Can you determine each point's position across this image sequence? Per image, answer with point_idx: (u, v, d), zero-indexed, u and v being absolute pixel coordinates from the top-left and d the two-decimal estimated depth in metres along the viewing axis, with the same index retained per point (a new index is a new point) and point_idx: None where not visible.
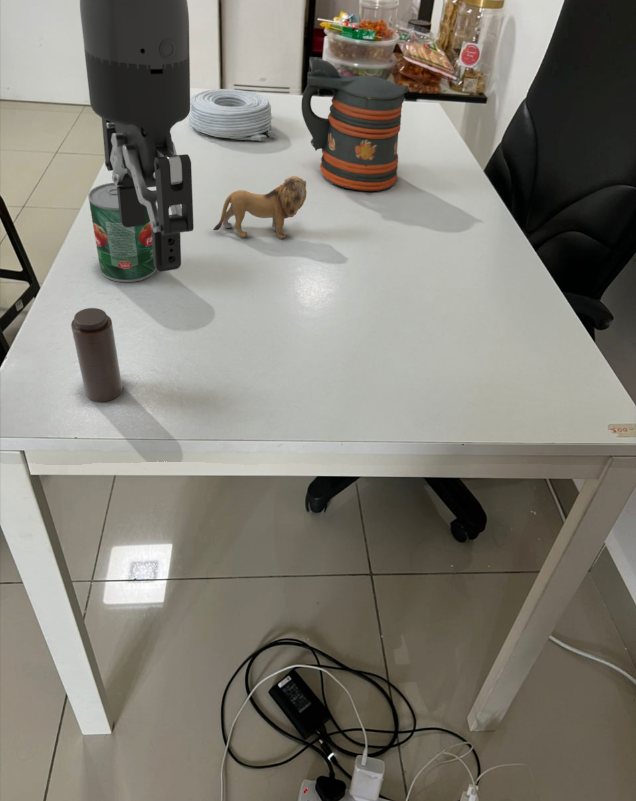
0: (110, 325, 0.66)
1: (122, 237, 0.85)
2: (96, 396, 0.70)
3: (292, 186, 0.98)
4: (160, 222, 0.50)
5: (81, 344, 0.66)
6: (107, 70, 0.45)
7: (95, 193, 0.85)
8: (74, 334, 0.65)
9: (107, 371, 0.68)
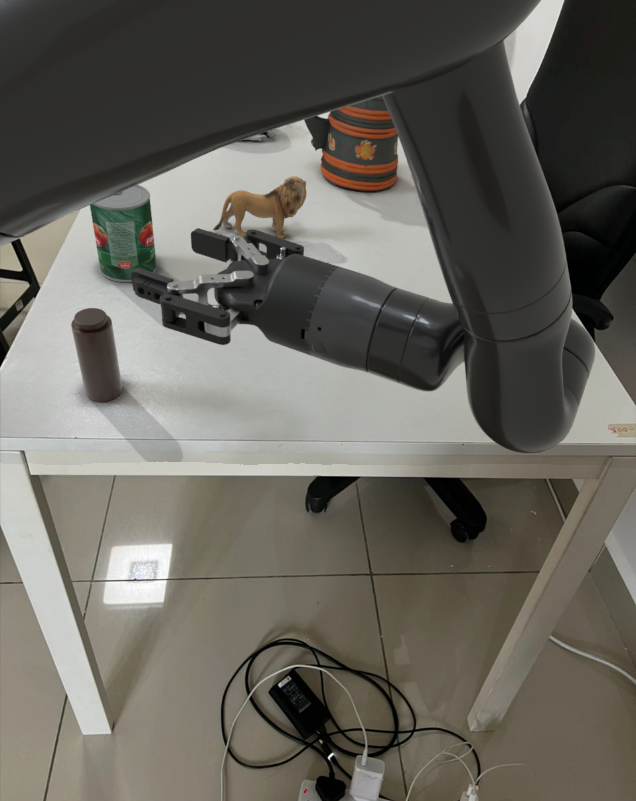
0: (110, 325, 0.66)
1: (122, 237, 0.85)
2: (96, 396, 0.70)
3: (292, 186, 0.98)
4: (172, 299, 0.50)
5: (81, 344, 0.66)
6: (311, 290, 0.49)
7: None
8: (74, 334, 0.65)
9: (107, 371, 0.68)
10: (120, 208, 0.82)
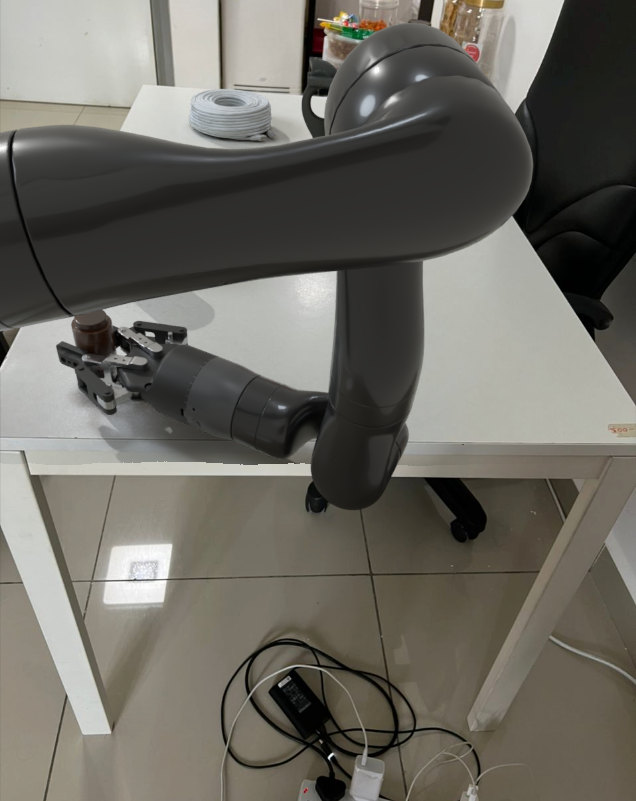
0: (110, 325, 0.66)
1: None
2: None
3: None
4: (83, 370, 0.64)
5: (81, 344, 0.66)
6: (187, 378, 0.61)
7: None
8: (74, 334, 0.65)
9: None
10: None
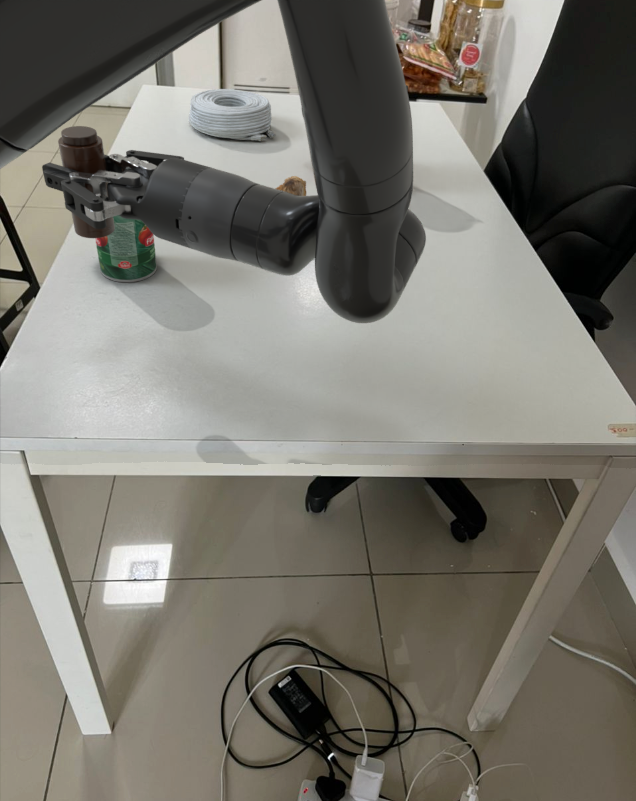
0: (100, 143, 0.61)
1: (122, 237, 0.85)
2: (86, 231, 0.65)
3: (292, 186, 0.98)
4: (70, 183, 0.58)
5: (69, 162, 0.61)
6: (183, 184, 0.56)
7: None
8: (62, 150, 0.60)
9: None
10: None
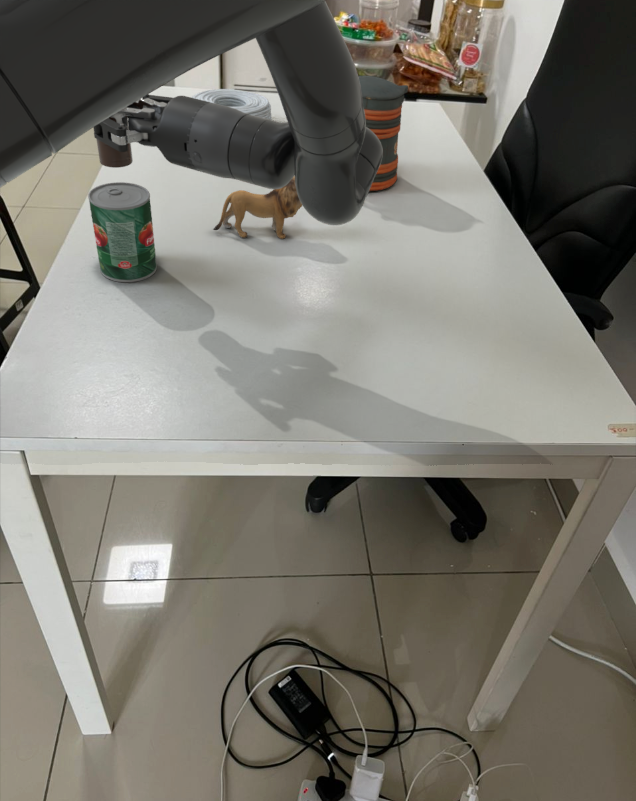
0: None
1: (122, 237, 0.85)
2: (109, 161, 0.79)
3: (292, 186, 0.98)
4: None
5: None
6: (190, 114, 0.70)
7: (95, 193, 0.85)
8: None
9: None
10: (120, 208, 0.82)
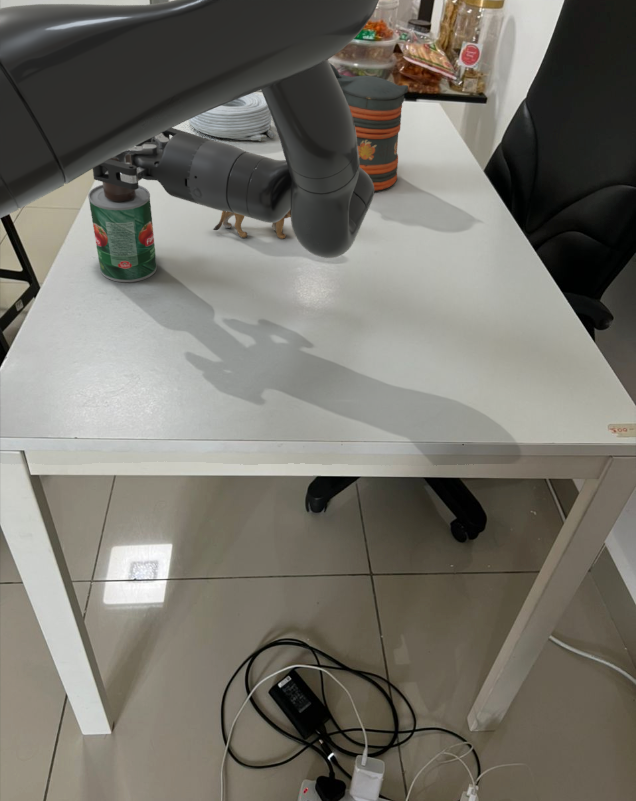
0: None
1: (122, 237, 0.85)
2: (114, 194, 0.83)
3: None
4: None
5: None
6: (190, 151, 0.73)
7: (95, 193, 0.85)
8: None
9: None
10: (120, 208, 0.82)
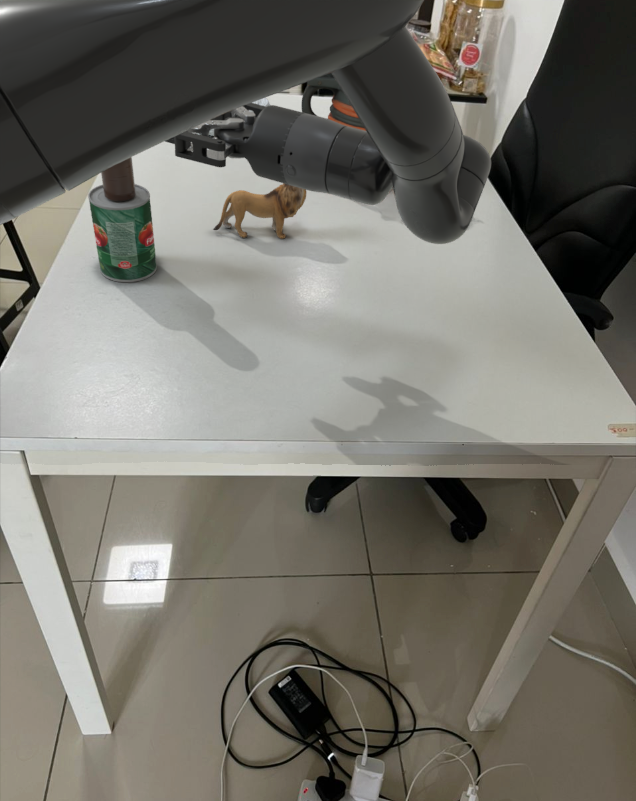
0: None
1: (122, 237, 0.85)
2: (114, 194, 0.83)
3: (292, 186, 0.98)
4: (183, 132, 0.67)
5: None
6: (285, 125, 0.66)
7: (95, 193, 0.85)
8: None
9: (123, 169, 0.81)
10: (120, 208, 0.82)
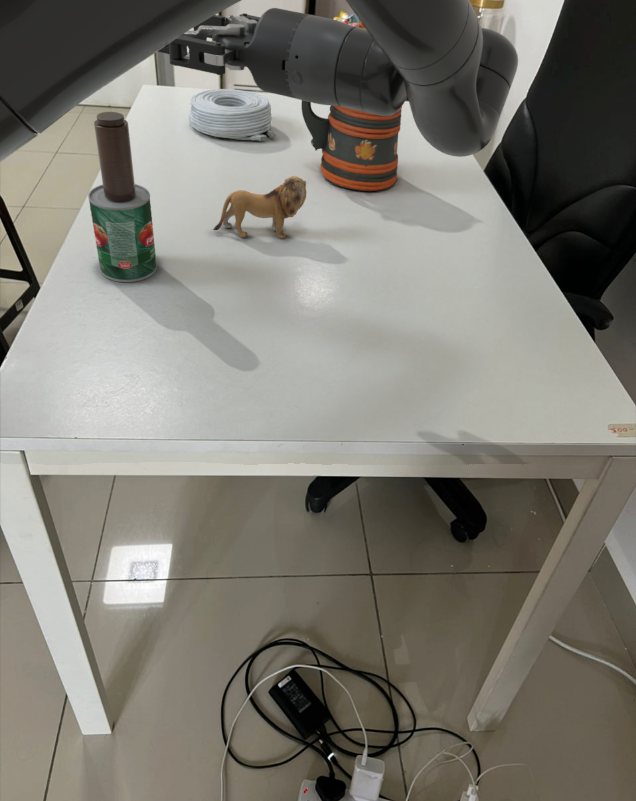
0: (126, 125, 0.79)
1: (122, 237, 0.85)
2: (114, 194, 0.83)
3: (292, 186, 0.98)
4: (178, 36, 0.61)
5: (102, 139, 0.78)
6: (290, 26, 0.60)
7: (95, 193, 0.85)
8: (97, 130, 0.78)
9: (123, 169, 0.81)
10: (120, 208, 0.82)
